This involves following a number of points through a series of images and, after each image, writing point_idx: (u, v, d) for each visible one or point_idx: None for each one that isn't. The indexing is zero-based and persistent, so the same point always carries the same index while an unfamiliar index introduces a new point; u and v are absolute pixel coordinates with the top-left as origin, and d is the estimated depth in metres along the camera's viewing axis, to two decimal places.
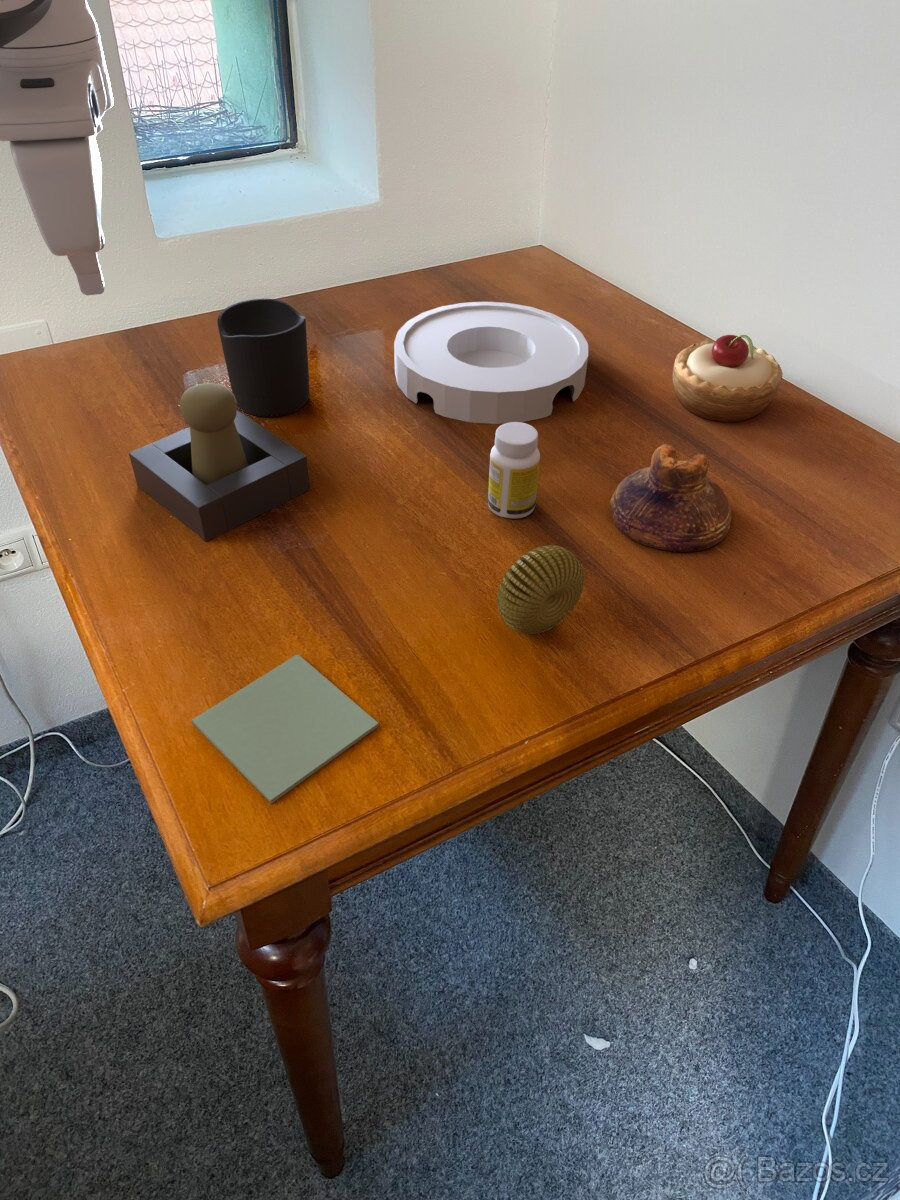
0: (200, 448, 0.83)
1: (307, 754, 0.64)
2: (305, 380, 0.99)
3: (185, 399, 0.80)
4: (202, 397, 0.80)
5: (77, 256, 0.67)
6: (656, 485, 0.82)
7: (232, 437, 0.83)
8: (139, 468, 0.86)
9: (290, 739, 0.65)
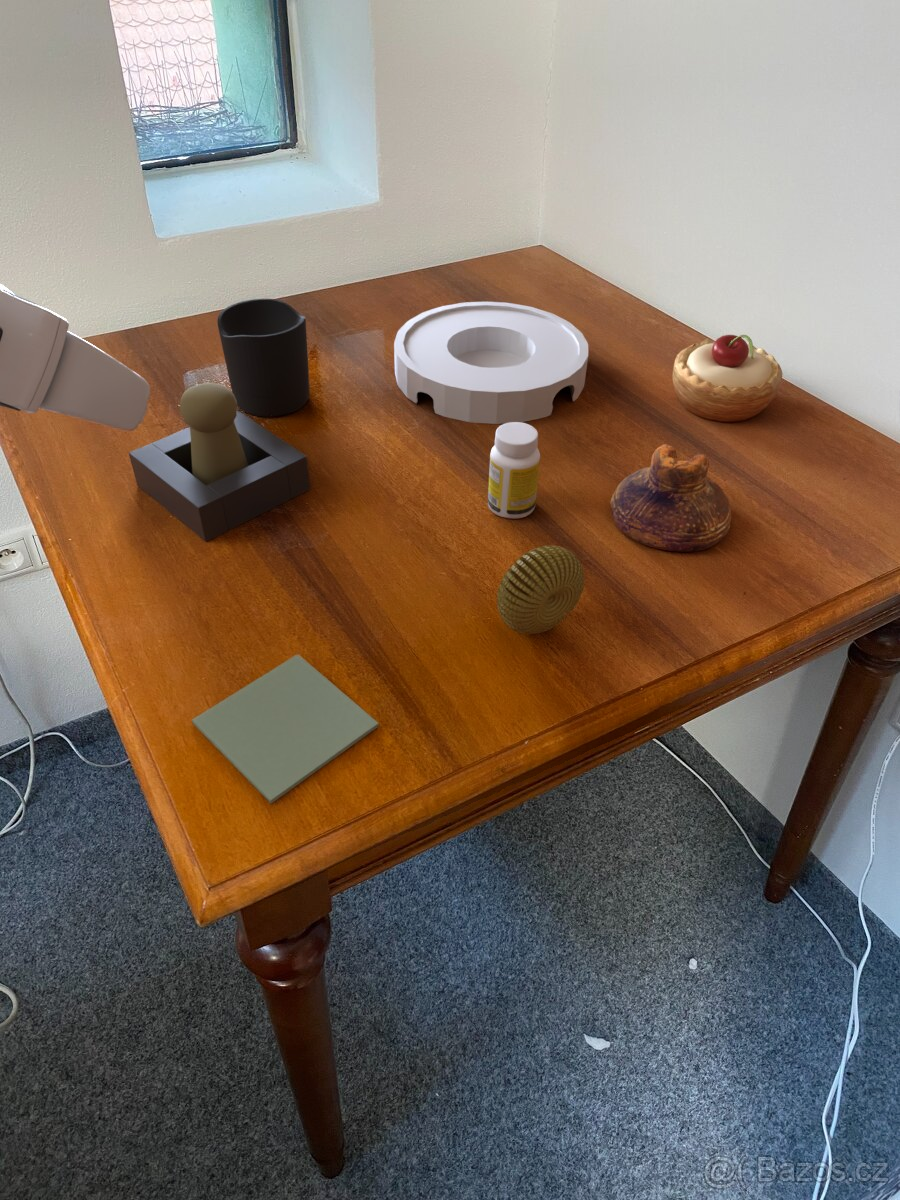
0: (200, 448, 0.83)
1: (307, 754, 0.64)
2: (305, 380, 0.99)
3: (185, 399, 0.80)
4: (202, 397, 0.80)
5: None
6: (656, 485, 0.82)
7: (232, 437, 0.83)
8: (139, 468, 0.86)
9: (290, 739, 0.65)
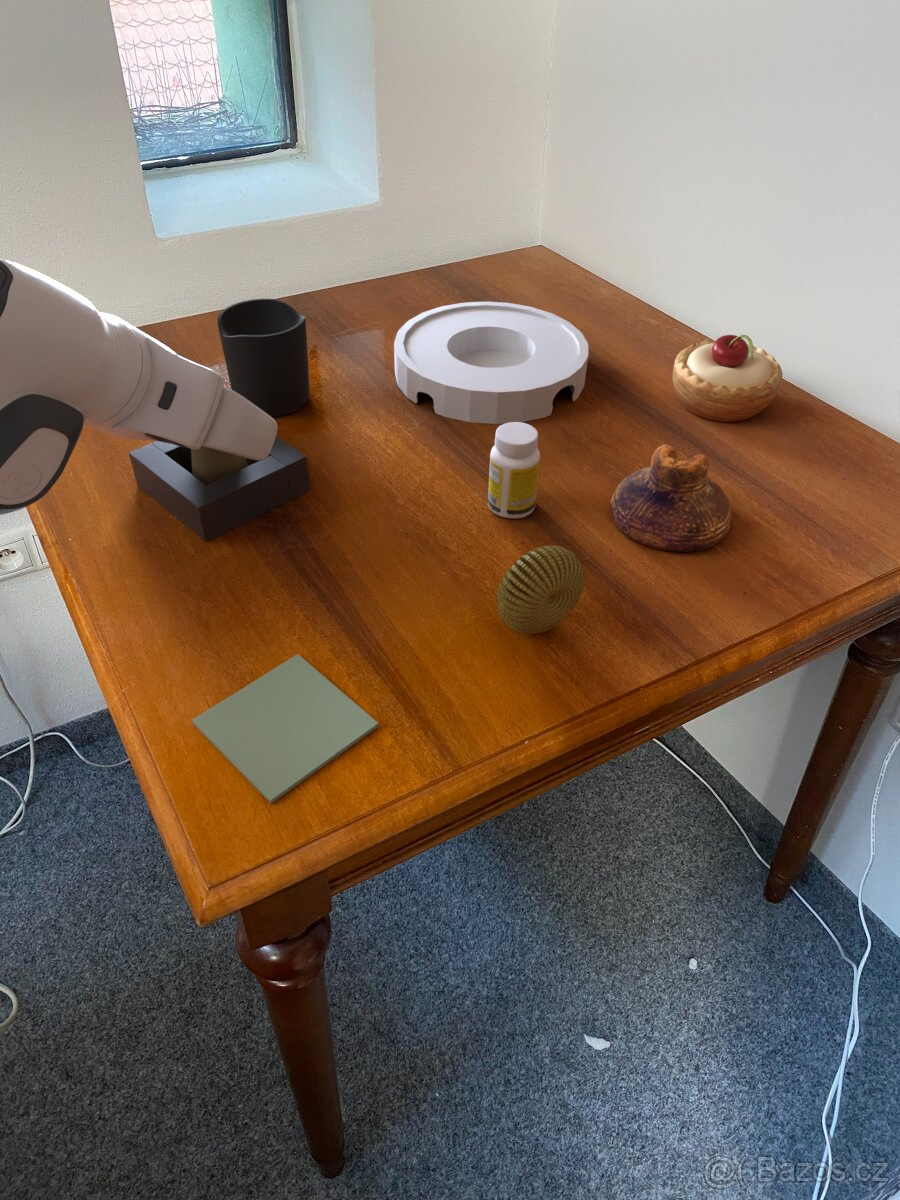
0: (200, 448, 0.83)
1: (307, 754, 0.64)
2: (305, 380, 0.99)
3: None
4: None
5: None
6: (656, 485, 0.82)
7: None
8: (139, 468, 0.86)
9: (290, 739, 0.65)
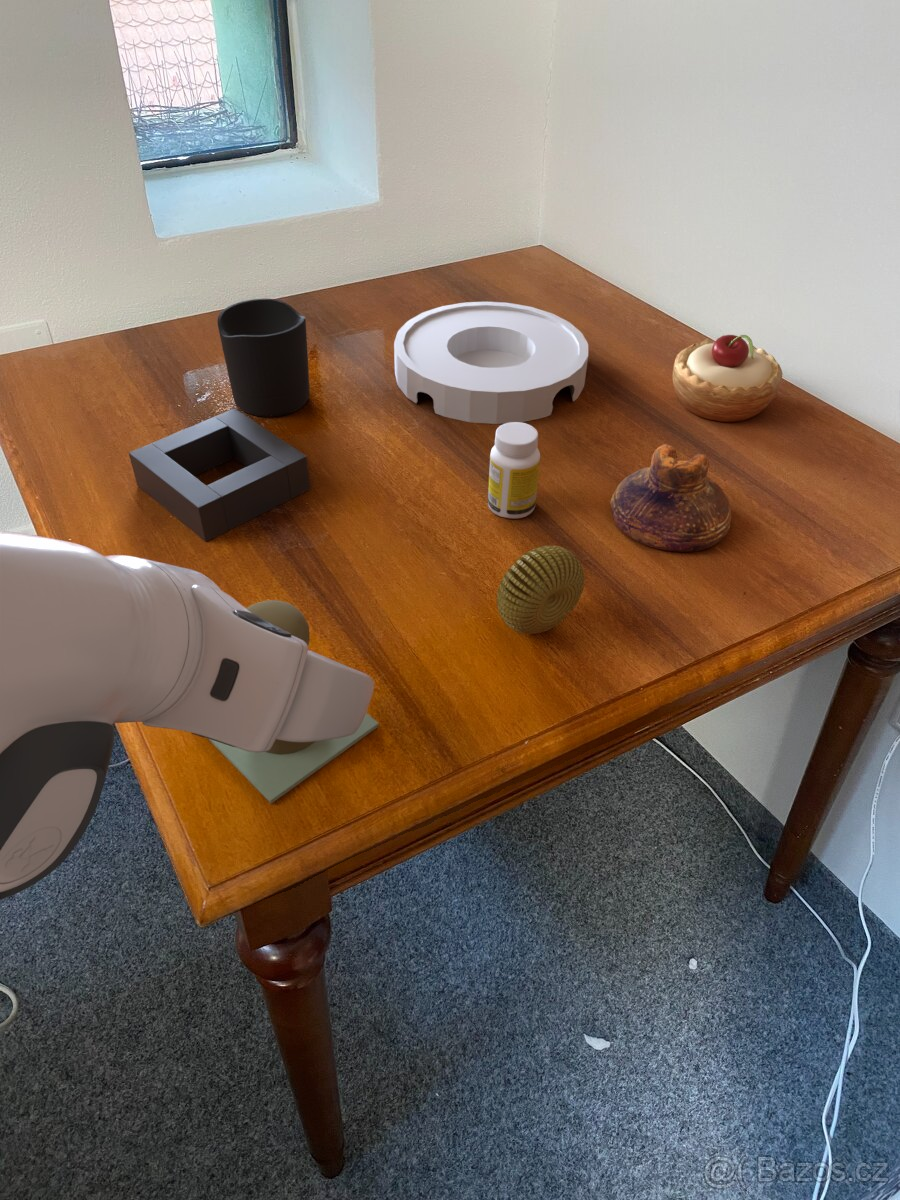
0: None
1: (307, 754, 0.64)
2: (305, 380, 0.99)
3: None
4: None
5: None
6: (656, 485, 0.82)
7: None
8: (139, 468, 0.86)
9: None
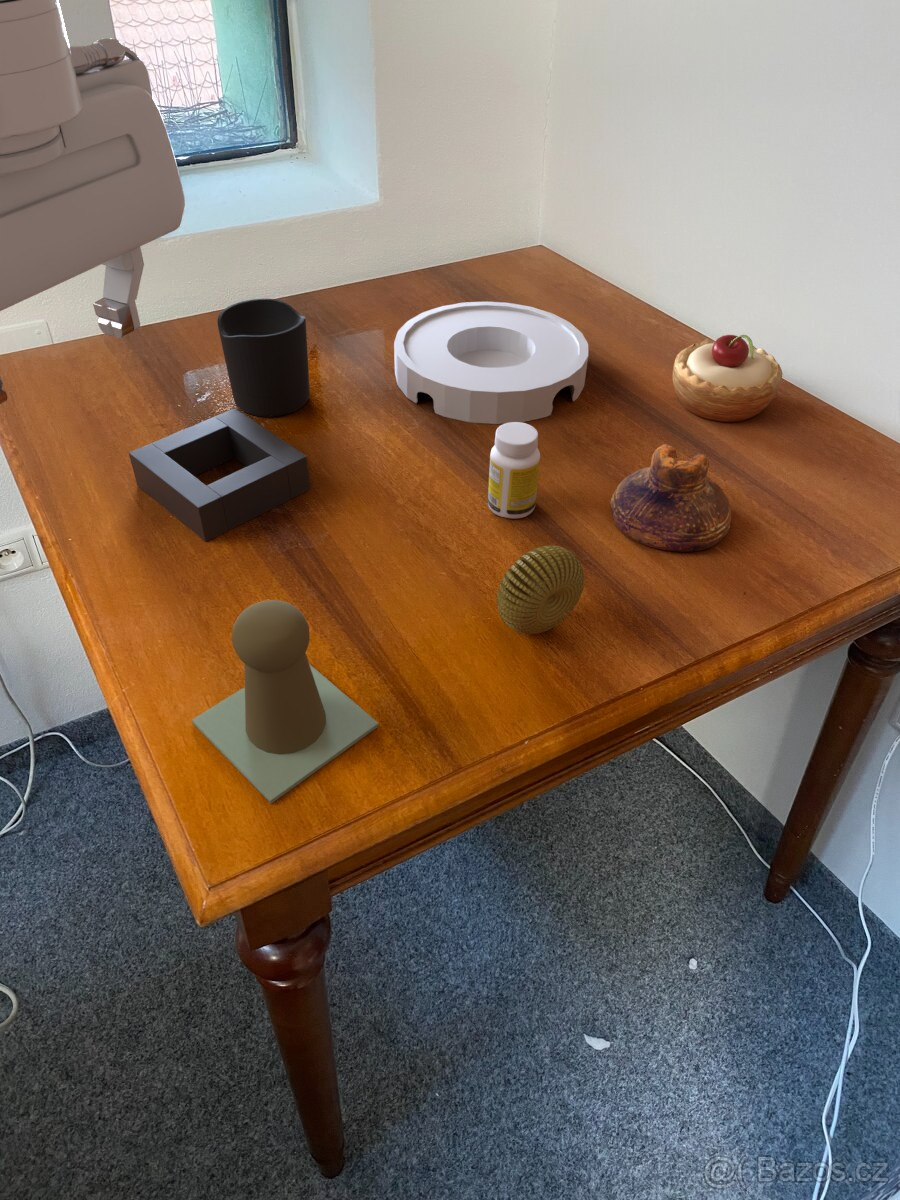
0: (258, 690, 0.60)
1: (307, 754, 0.64)
2: (305, 380, 0.99)
3: (240, 631, 0.58)
4: (264, 630, 0.58)
5: None
6: (656, 485, 0.82)
7: (302, 672, 0.61)
8: (139, 468, 0.86)
9: None
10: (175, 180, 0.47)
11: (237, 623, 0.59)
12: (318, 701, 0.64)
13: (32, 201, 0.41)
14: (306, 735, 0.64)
